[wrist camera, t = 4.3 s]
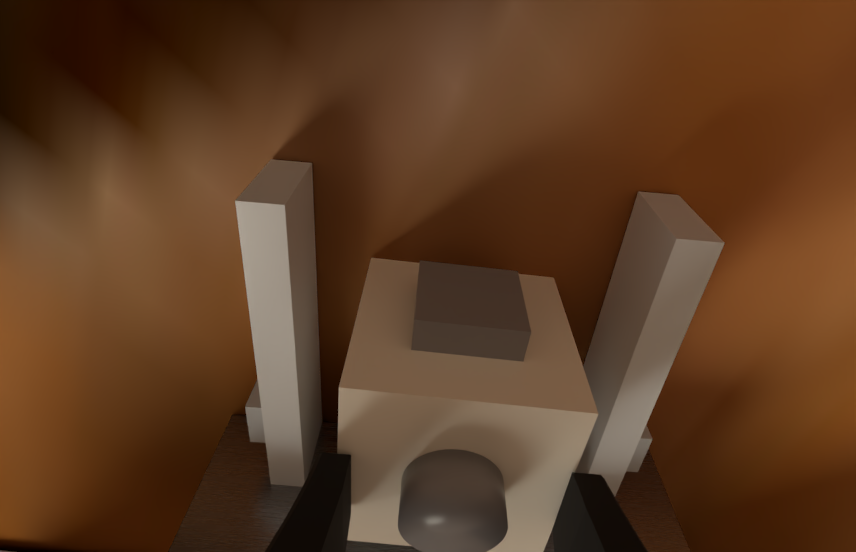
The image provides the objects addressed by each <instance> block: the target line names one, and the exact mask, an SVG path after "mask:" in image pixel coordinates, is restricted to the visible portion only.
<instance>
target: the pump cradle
mask: <svg viewBox="0 0 856 552" xmlns="http://www.w3.org/2000/svg"><path fill="white" fill-rule="evenodd" d="M235 204H236V211H237V219H238V227H239V235H240V243H241V251H242V259H243V267H244V275H245V283H246V291H247V299H248V307H249V315H250V323H251V331H252V339H253V347H254V355H255V363H256V371H257V381H256V383H255V386H254V388H253V390H252V392H251V394H250V397H249V399H248V401H247V403H246V406H245V410H246V417H247V423H248V430H249V437H250V442H261V443H266V450H267V458H268V466H269V474H270V482H271V484H274V485H286V486H299V487H303V485H304V483H305V481H306V479H307V477H308V474H309V470H310V466H311V462H312V459H313V455H314V451H315V447H316V444H317V440H318V436H319V432H320V429H321V425H322V400H321V375H320V350H319V324H318V299H317V274H316V248H315V223H314V198H313V172H312V163H308V162H296V161H285V160H273V159H271V160H270V161H269V162H268V163H267V164H266V166H265V167H264V168H263V169H262V170H261V171H260V173H259V174H258V175H257V176H256V177H255V178H254V179H253V181H252V182H251V183H250V184H249V185H248V186H247V188H246V189H245V190H244V191H243V192H242V193H241V195H240V196H239V197H238V198H237V199H236V200H235ZM724 244H725V243H724V242H723V241H722V239H721V238H720V237H719V236H718V235H717V234H716V233H715V232H714V231H713V230H712V229H711V228H710V227H709V226H708V225H707V224H706V223H705V222H704V221H703V220H702V219H701V218H700V217H699V216H698V215H697V214H696V213H695V212H694V210H693V209H692V208H691V207H690V206H689V205H688V204H687V203H686V202H685V201H684V200H683V199H682V198H681V197H680V196H679V195H673V194H662V193H651V192H639V191H638V194H637V197H636V200H635V203H634V206H633V210H632V213H631V216H630V219H629V222H628V225H627V229H626V232H625V235H624V238H623V241H622V245H621V248H620V251H619V254H618V257H617V261H616V264H615V267H614V270H613V273H612V276H611V280H610V283H609V286H608V289H607V292H606V296H605V299H604V302H603V305H602V308H601V311H600V315H599V318H598V321H597V324H596V327H595V331H594V334H593V337H592V340H591V343H590V347H589V350H588V353H587V356H586V359H585V362H584V366H583V368H584V371H585V374H586V377H587V380H588V383H589V386H590V389H591V392H592V395H593V398H594V401H595V404H596V408H597V411H598V417H597V419H596V422H595V424H594V427H593V429H592V431H591V434H590V436H589V439H588V441H587V444H586V446H585V449H584V451H583V454H582V456H581V459H580V461H579V464H578V466H577V469H576V471H575V473H586V474H599V475H601V476H602V477H603V478H604V479H605V481H606V482H607V484H608V486H609V488H610V489H611V491H612V493H613V495H614V496H616V493H617V491H618V489H619V487H620V484H621V482H622V480H623V477H624V475H625V473H626V471H628V472H638V471H639V468H640V466H641V464H642V462H643V460H644V457H645V455H646V453H647V451H648V449H649V446H650V444H651V442H652V440H653V439H652V437H651V434H650V432H649V430H648V427H647V425H646V424H647V422H648V419H649V417H650V415H651V413H652V410H653V408H654V406H655V403H656V401H657V399H658V396H659V394H660V392H661V389H662V387H663V385H664V382H665V380H666V378H667V376H668V373H669V371H670V369H671V366H672V364H673V362H674V359H675V357H676V355H677V352H678V350H679V348H680V345H681V343H682V341H683V338H684V336H685V334H686V332H687V329H688V327H689V325H690V322H691V320H692V318H693V315H694V313H695V311H696V308H697V306H698V304H699V301H700V299H701V297H702V295H703V292H704V290H705V288H706V285H707V283H708V281H709V278H710V276H711V274H712V271H713V269H714V267H715V264H716V262H717V260H718V258H719V255H720V253H721V251H722V248H723V246H724Z"/></svg>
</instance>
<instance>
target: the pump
mask: <svg viewBox="0 0 856 552" xmlns="http://www.w3.org/2000/svg"><path fill="white" fill-rule="evenodd" d="M597 417H598V411H597V408H596V404H595V401H594V398H593V395H592V392H591V389H590V386H589V383H588V380H587V377H586V374H585V371H584V368H583V365H582V362H581V359H580V356H579V353H578V350H577V347H576V344H575V340H574V337H573V334H572V331H571V328H570V325H569V322H568V319H567V316H566V313H565V310H564V307H563V304H562V301H561V298H560V295H559V292H558V289H557V286H556V283H555V280H554V278H553V277H544V276H535V275H526V274H518V271H512V270H503V269H494V268H485V267H476V266H467V265H457V264H448V263H439V262H430V261H421V260H420V263H416V262H407V261H398V260H389V259H380V258H371V260H370V264H369V268H368V272H367V276H366V280H365V284H364V288H363V292H362V296H361V300H360V304H359V308H358V312H357V316H356V320H355V324H354V328H353V332H352V336H351V340H350V344H349V348H348V352H347V356H346V360H345V364H344V368H343V372H342V376H341V380H340V384H339V397H338V440H337V454H350V455H351V517H350V524H349V531H348V538H347V540H350V541H361V542H371V543H382V544H393V545H404V546H412V547H414V548H415V549H417V550H419V551H422V552H543V551H544V549H545V546H546V544H547V541H548V539H549V536H550V534H551V531H552V528H553V526H554V523H555V520H556V517H557V514H558V511H559V508H560V506H561V503H562V500H563V497H564V494H565V491H566V488H567V486H568V483H569V480H570V477H571V474H572V472H574V473H575V471H576V469H577V466H578V464H579V461H580V459H581V456H582V454H583V451H584V449H585V446H586V444H587V441H588V439H589V436H590V434H591V431H592V429H593V427H594V424H595V422H596V419H597Z"/></svg>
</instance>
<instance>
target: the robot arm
mask: <svg viewBox="0 0 856 552" xmlns="http://www.w3.org/2000/svg"><path fill="white" fill-rule="evenodd" d="M350 517H351V455H350V454H337V453H325V452H322V453H320V454H319V455H317V457H316V459H315V462H314V464H313V466H312V469H311V471H310V473H309V475H308V477H307V479H306V481H305V483H304V485H303V487H302V489H301V491H300V493H299V494H298V496H297V498H296V500H295V502H294V503H293V505H292V507H291V509H290V511H289V512H288V514H287V516H286V518H285V519H284V521H283V523H282V524H281V526H280V527H279V529H278V531H277V532H276V534H275V536H274V537H273V539H272V541H271V542H270V544H269V546H268V547H267V549H266V550H265V552H345V551H346V545H347V538H348V531H349V524H350ZM552 533H553V544H554V552H648V551H647V549H646V548H645V546H644V544H643V543H642V541H641V540H640V538H639V536H638V535H637V533H636V531H635V530H634V528H633V527H632V525H631V523H630V522H629V520H628V518H627V517H626V515H625V513H624V512H623V510H622V508H621V507H620V505H619V503H618V501H617V500H616V498H615V496H614V495H613V493H612V491H611V489H610V488H609V486H608V484H607V482H606V481H605V479H604V478H603V477H602V476H601V475H599V474H586V473H574V472H572V474H571V477H570V480H569V483H568V486H567V488H566V491H565V494H564V497H563V500H562V503H561V506H560V508H559V511H558V514H557V517H556V520H555V523H554V526H553V528H552ZM0 552H15V551H2V550H0Z"/></svg>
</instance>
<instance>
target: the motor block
mask: <svg viewBox="0 0 856 552" xmlns="http://www.w3.org/2000/svg"><path fill="white" fill-rule="evenodd" d="M337 440H338V423H331V422H322V425H321V429H320V432H319V436H318V440H317V444H316V447H315V451H314V455H313V459H312V462H311V466H310V470H309V473H310V471H311V469H312V466H313V464H314V462H315V459H316V457H317V455H319V454H320V453H322V452H325V453H337ZM308 475H309V474H308ZM301 489H302V487H299V486H286V485H274V484H271V482H270V474H269V466H268V458H267V450H266V443H261V442H250V437H249V430H248V423H247V417H246V416H244V415H232V416H231V419H230V421H229V423H228V425H227V427H226V429H225V431H224V434H223V436H222V438H221V440H220V442H219V444H218V446H217V449H216V451H215V453H214V455H213V457H212V459H211V461H210V464H209V466H208V468H207V470H206V472H205V474H204V476H203V479H202V481H201V483H200V485H199V487H198V489H197V491H196V494H195V496H194V498H193V500H192V502H191V504H190V506H189V509H188V511H187V513H186V515H185V517H184V519H183V521H182V523H181V526H180V528H179V530H178V532H177V534H176V536H175V538H174V541H173V543H172V545H171V547H170V549H169V551H168V552H265V550H266V549H267V547H268V546H269V544H270V542H271V541H272V539H273V537H274V536H275V534H276V532H277V531H278V529H279V527H280V526H281V524H282V523H283V521H284V519H285V518H286V516H287V514H288V512H289V511H290V509H291V507H292V505H293V503H294V502H295V500H296V498H297V496H298V494H299V493H300V491H301ZM615 498H616V500H617V501H618V503H619V505H620V507H621V508H622V510H623V512H624V513H625V515H626V517H627V518H628V520H629V522H630V523H631V525H632V527H633V528H634V530H635V531H636V533H637V535H638V536H639V538H640V540H641V541H642V543H643V544H644V546H645V548H646V549H647V551H648V552H690V549H689V547H688V544H687V542H686V539H685V537H684V534H683V532H682V529H681V527H680V525H679V522H678V520H677V517H676V515H675V512H674V510H673V507H672V505H671V503H670V500H669V498H668V495H667V493H666V490H665V488H664V485H663V483H662V480H661V478H660V476H659V473H658V471H657V468H656V466H655V463H654V461H653V458H652V456H651V454H650V451H649V449H648V451H647V453H646V455H645V457H644V460H643V462H642V464H641V466H640V468H639V471H638V472H628V471H626V473H625V475H624V477H623V480H622V482H621V484H620V487H619V489H618V491H617V493H616V496H615ZM345 552H422V551H419V550H417V549H415V548H414V547H412V546H404V545H393V544H382V543H371V542H361V541H350V540H347V545H346V551H345ZM543 552H554V544H553V533H552V531H551V534H550V536H549V539H548V541H547V544H546V546H545V549H544V551H543Z"/></svg>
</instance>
